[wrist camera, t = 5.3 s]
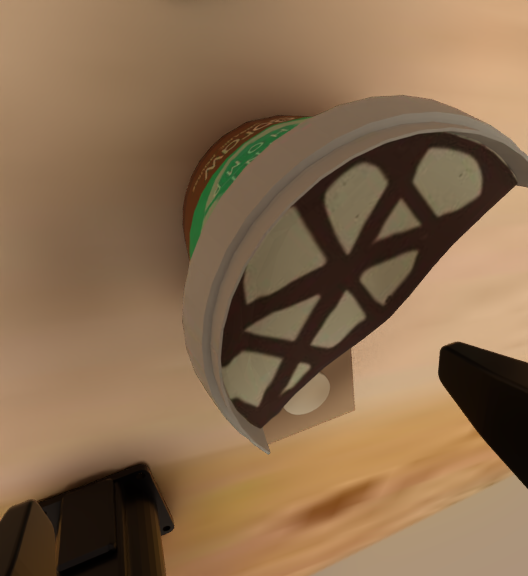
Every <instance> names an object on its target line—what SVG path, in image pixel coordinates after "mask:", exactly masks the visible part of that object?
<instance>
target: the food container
mask: <svg viewBox="0 0 528 576" xmlns="http://www.w3.org/2000/svg"><path fill="white" fill-rule="evenodd" d="M516 185H517V186H523V187H528V156H527V155H526V154H525V153H524V152H523V151H521V150H520V149H519V148H518V147H517V146H516V144H515V143H514V142H513V141H512V140H511V139H510V138H508V137H507V136H505V135H504V134H502V133H501V132H500V131H498V130H497V129H495V128H494V127H492V126H491V125H489V124H487V123H485V122H483V121H481V120H479V119H477V118H475V117H473V116H471V115H469V114H467V113H464V112H462V111H460V110H458V109H456V108H453V107H451V106H448V105H446V104H443V103H440V102H438V101H435V100H432V99H426V98H419V97H412V96H405V95H398V96H381V97H370V98H366V99H362V100H358V101H354V102H350V103H346V104H342V105H338V106H336V107H334V108H332V109H329V110H327V111H325V112H323V113H320V114H318V115H316V116H314V117H304V116H282V115H278V116H273V117H269V118H264V119H259V120H255V121H250V122H246V123H244V124H243V125H241V126H239V127H238V128H236V129H234V130H233V131H231V132H229V133H227V134H226V135H224V136H223V137H222V138H221V139H219V140H218V141H217V142H216V143H215V144H214V145H213V146H212V147H211V148H210V149H209V150H208V151H207V153H206V154H205V155H204V157H203V158H202V159H201V160H200V162H199V164H198V165H197V167H196V169H195V171H194V173H193V174H192V176H191V179H190V182H189V185H188V188H187V190H186V194H185V200H184V205H183V230H184V236H185V242H186V247H187V251H188V256H189V260H190V264H189V269H188V273H187V278H186V283H185V287H184V293H183V321H182V322H183V329H184V335H185V342H186V348H187V351H188V354H189V357H190V360H191V362H192V365H193V368H194V371H195V373H196V375H197V376H198V378H199V380H200V381H201V383H202V384H203V386H204V388H205V389H206V391H207V393H208V394H209V395H210V397H211V398H212V400H213V401H214V403H215V404H216V405H217V407H218V408H219V410H220V411H221V413H222V414H223V415H224V417H225V418H226V419H227V420H228V421H229V422H230V423H231V424H232V425H233V426H234V428H235V429H236V430H237V431H238V432H239V433H240V434H242V435H243V436H245V437H246V438H247V439H249V440H250V441H251V442H252V443H253V444H254V445H255V446H257V447H258V448H259V449H261V450H262V451H264V452H265V453H267V454H268V455H269V454H270V450H269V447H268V444H267V440H266V437H265V434H264V430H263V427H264V426H265V425H266V424H267V423H268V422H269V421H270V420H271V419H272V418H273V417H275V416H276V415H277V414H279V413H280V411H281V410H282V409H283V407H284V406H285V405H286V404H287V403H288V402H289V400H290V399H291V398H292V397H293V396H294V395H295V394H296V393H297V392H298V391H299V390H300V389H302V388H303V387H304V386H305V385H306V384H307V383H308V382H309V381H310V380H311V379H313V378H314V377H315V376H316V375H317V374H318V373H319V372H320V371H321V370H322V369H324V368H325V367H326V366H327V365H329V364H330V363H331V362H333V361H334V360H335V359H337V358H338V357H339V356H341V355H342V354H343V353H345V352H346V351H348V350H349V349H350V348H352V347H353V346H354V345H356V344H357V343H358V342H360V341H361V340H362V339H364V338H365V337H366V336H368V335H369V334H370V333H371V332H373V331H374V330H375V329H376V328H378V327H379V326H380V325H381V324H383V323H384V322H385V321H386V320H387V319H388V318H390V317H391V316H392V315H393V314H394V312H395V311H396V310H397V309H398V308H399V307H400V306H401V304H402V303H403V302H404V301H405V300H406V299H407V298H408V297H409V296H410V294H411V293H412V292H413V291H414V290H415V288H416V287H417V286H418V285H419V283H420V282H421V281H422V280H423V278H424V277H425V276H426V275H427V274H428V272H429V271H430V270H431V269H432V267H433V266H434V265H435V264H436V263H437V262H438V261H439V260H440V258H441V257H442V256H443V255H444V254H445V253H446V252H447V251H448V249H449V248H450V247H451V246H452V245H453V244H454V243H455V242H456V241H457V240H458V239H459V238H460V237H461V236H462V235H463V234H464V233H465V232H466V231H468V230H469V229H470V228H471V227H472V226H473V225H474V224H475V223H476V222H477V221H478V220H479V219H480V218H481V217H482V216H483V215H484V214H485V213H486V212H487V211H488V210H490V209H491V208H492V207H493V206H494V205H495V204H496V203H497V202H498V201H499V200H500V199H501V198H503V197H504V196H505V195H506V194H507V193H508V192H509V191H510V190H511V189H512V188H513V187H514V186H516Z"/></svg>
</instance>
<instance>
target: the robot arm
mask: <svg viewBox="0 0 528 576" xmlns="http://www.w3.org/2000/svg"><path fill="white" fill-rule="evenodd" d="M438 375H439V379H440V381H441V383H442V384H443V386H444V387H445V388H446V390H447V391H448V393H449V394H450V395H451V397H452V398H453V399H454V401H455V402H456V403H457V405H458V406H459V407H460V409H461V410H462V412H463V413H464V414H465V416H466V417H467V418H468V420H469V421H470V422H471V424H472V425H473V427H474V428H475V429H476V430H477V432H478V433H479V434H480V436H481V437H482V438H483V439H484V440H485V442H486V443H487V444H488V445H489V446H490V447H491V448H492V450H493V451H494V452H495V453H496V454H497V455H498V456H499V457H500V458H501V460H502V461H503V462H504V463H505V464H506V465H507V466H508V467H509V469H510V470H511V471H512V472H513V473H514V474H515V475H516V476H517V477H518V479H519V480H520V481H521V482H522V483H523V484H524V485H525V486H526V487H527V489H528V363H527V362H524V361H520V360H517V359H514V358H511V357H507V356H504V355H501V354H498V353H494V352H491V351H488V350H485V349H481V348H478V347H475V346H472V345H468V344H465V343H462V342H453V343H451V344H448V345H445V346H443V347H442V348H441V350H440V356H439V368H438ZM139 473H141V474H139ZM173 529H174V522H173V518H172V516H171V514H170V512H169V510H168V508H167V506H166V503H165V501H164V499H163V497H162V495H161V493H160V491H159V489H158V486H157V484H156V482H155V480H154V478H153V476H152V474H151V472H150V469H149V467H148V466H147V465H144V464H140V465H137V466H134V467H132V468H129V469H126V470H124V471H121V472H118V473H116V474H113V475H111V476H108V477H105V478H103V479H100V480H98V481H95V482H92V483H90V484H87V485H84V486H82V487H79V488H77V489H74V490H71V491H69V492H66V493H64V494H61V495H58V496H56V497H53V498H50V499H48V500H45V501H43V502H40V503H37V501H35V500H33V499H32V500H28V501H25V502H22V503H19V504H17V505H14V506H12V507H10V508H9V509H8V510H7V512H6V513H5V515H4V516H3V518H2V519H1V521H0V576H166V570H165V562H164V555H163V547H162V539H161V536H162V535H165V534H167V533H169V532H171V531H172V530H173Z"/></svg>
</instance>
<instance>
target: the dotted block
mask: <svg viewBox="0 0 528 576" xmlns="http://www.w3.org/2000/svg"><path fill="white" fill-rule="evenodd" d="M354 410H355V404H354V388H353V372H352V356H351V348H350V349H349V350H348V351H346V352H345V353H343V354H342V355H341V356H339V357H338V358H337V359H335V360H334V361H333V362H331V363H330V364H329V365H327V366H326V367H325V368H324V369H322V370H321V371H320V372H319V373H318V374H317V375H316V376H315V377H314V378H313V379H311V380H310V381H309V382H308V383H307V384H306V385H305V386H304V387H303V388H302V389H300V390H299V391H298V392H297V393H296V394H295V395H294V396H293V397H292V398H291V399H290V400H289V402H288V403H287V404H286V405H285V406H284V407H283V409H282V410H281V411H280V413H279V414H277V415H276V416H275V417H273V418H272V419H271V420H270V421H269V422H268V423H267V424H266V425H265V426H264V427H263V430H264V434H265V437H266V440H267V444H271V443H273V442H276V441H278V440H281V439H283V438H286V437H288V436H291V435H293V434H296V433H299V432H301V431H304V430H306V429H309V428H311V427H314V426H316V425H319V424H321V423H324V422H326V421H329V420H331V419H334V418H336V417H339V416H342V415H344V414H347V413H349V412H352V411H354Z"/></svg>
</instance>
